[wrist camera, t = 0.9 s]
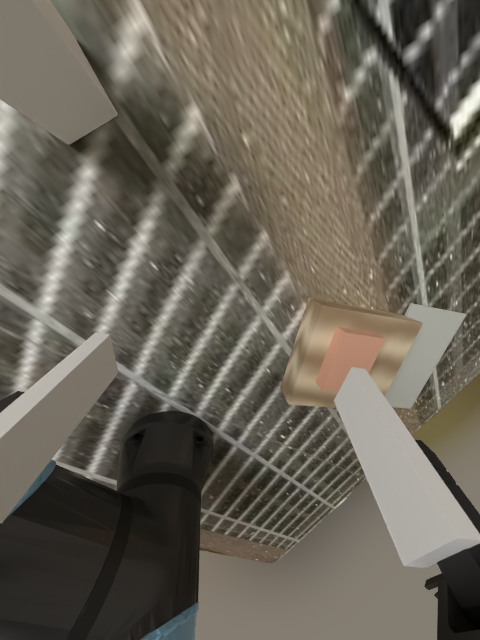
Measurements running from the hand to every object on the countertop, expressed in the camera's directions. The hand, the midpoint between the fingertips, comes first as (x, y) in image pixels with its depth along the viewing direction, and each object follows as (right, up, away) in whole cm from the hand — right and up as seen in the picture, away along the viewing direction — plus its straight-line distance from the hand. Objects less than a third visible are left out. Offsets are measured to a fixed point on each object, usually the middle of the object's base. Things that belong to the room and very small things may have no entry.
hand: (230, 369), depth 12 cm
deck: (+17, -3, +23) cm, 28 cm away
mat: (+31, -5, +25) cm, 40 cm away
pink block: (+16, -3, +18) cm, 24 cm away
